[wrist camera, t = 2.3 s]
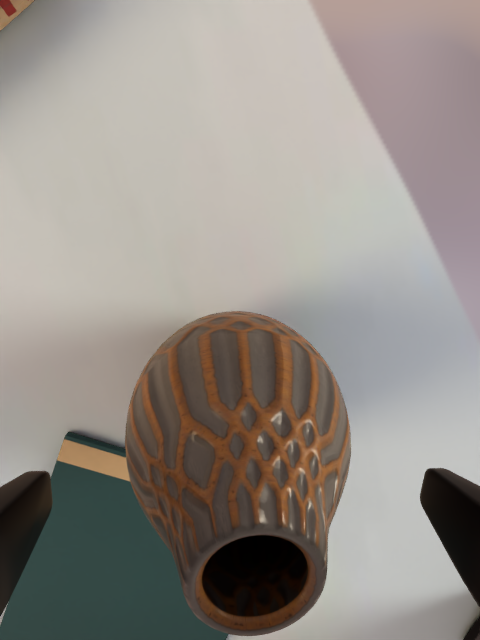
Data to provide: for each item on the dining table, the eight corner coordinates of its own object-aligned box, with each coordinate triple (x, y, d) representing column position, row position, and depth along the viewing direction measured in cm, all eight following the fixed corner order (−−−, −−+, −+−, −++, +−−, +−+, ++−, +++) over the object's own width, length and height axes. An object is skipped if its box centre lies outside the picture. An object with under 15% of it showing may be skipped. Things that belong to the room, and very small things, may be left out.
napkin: (296, 500, 15) (297, 506, 15) (165, 744, 18) (165, 753, 18) (68, 431, 13) (65, 435, 13) (-29, 715, 17) (-34, 724, 16)
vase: (140, 419, 13) (-1, 710, 5) (179, 279, 12) (81, 329, 3) (276, 451, 14) (364, 743, 6) (325, 324, 13) (533, 452, 4)
